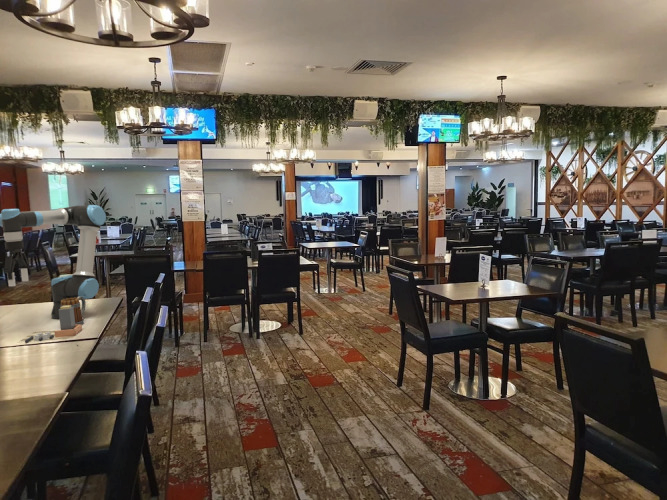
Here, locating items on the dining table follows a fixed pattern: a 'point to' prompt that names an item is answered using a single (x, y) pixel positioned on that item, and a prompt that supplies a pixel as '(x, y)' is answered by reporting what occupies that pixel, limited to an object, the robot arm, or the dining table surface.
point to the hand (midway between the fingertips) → (19, 283)
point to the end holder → (69, 331)
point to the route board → (43, 334)
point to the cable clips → (45, 336)
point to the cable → (39, 338)
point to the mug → (76, 308)
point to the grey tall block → (67, 317)
